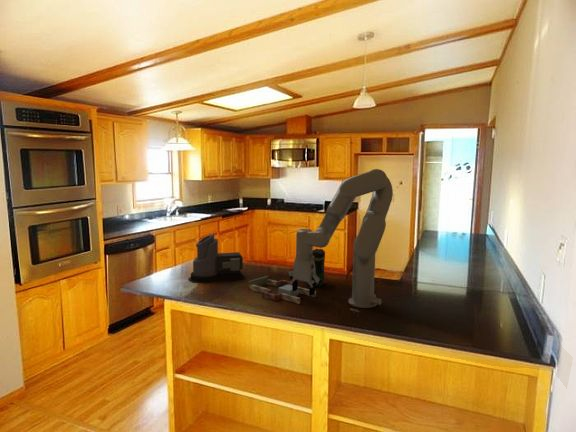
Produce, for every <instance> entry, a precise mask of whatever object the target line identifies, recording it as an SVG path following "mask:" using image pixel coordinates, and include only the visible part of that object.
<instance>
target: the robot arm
mask: <svg viewBox="0 0 576 432" xmlns="http://www.w3.org/2000/svg"><path fill="white" fill-rule="evenodd" d="M370 193H371V198H370V200H369V204H368V206H367V209H366V212H365V214H364V216H363V218H362V222H361V226H360V229H359V232H358V234H357V235H356V237H355V238H354V240H353V245H352V247H353V248H352V249H353V254H352V255H353V258H352V282H351V283H352V285H351V286H352V287H351V289H352V290H351V297H349V299H347V301H348V304H349V305H350V306H352V307H354V308H355V307H356V308H361V309H370V308H375V307H376V306H377V305H379V306H380V305H382V298H379V297H378V298H377V295H376V294H375V292H374V291H375V276H376V275H375V270H376V269H375V268H376V253H377V252H378V248H379V246H380V244H381V241H382V238H383V236H384V233H385V230H386V228H387V227H386V226H387V225H386V224H387V223H386V219H387V215H388V212H389V209H390V206H391V203H392V200H393V197H394V194H393V193H394V190H393V186H392V182H391V180H390V179H389V177H388V176H387V174H386V172H385V171H384V170H382V169H378V168H374V169H370V170H369V171H366V172H363V173H361V174H358V175H355V176H351V177H347V178H344V179H343V180H342V181H341V182H340V185H339V187H338V189H337V191H336V192H335V194H334V196H333V198H332V199H331V201H330V203H329V205H327V209H326V212H325V215H324V217H323V218H322V220H321V222H320V224H319V225H318V227H317V229H316V231H314V230H312V229H309V228H300V229H298V230H297V231H296V240H295V241H296V242H295V243H296V244H295V247H296V249H295V258H294V262H293V266H292V267H293V269H292V270H290V271H288V275H289V279H290V282H292V291H296V290H298V287H299V286H298V285H299V282H304V283H307V282H308V283H309V285H308V286H309V288H308V289H309V297H312V295H314V293H315V291H316V287H317V286H316V285H317V284H318V282H319V281H320V278H319V277H318V276H316V273H315V263H314V260H312V259H314V256H313V250H314V247H315V248H318V249H322V248H326V247H327V246H328V245H329V244H330V241H331V238H332V237H333V235H334V233H335V232H336V230H337V228H338V226H339V225H340V223H341V222H342V221H343V220H344V218H345V217H346V215H348V212H349V210H350V209H351V207H352V205H353V203H354V201H355V199H356V198H358V197H360V196H364V195H366V194H367V195H368V194H370ZM314 280H315V282H314ZM311 282H312V283H311Z"/></svg>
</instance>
